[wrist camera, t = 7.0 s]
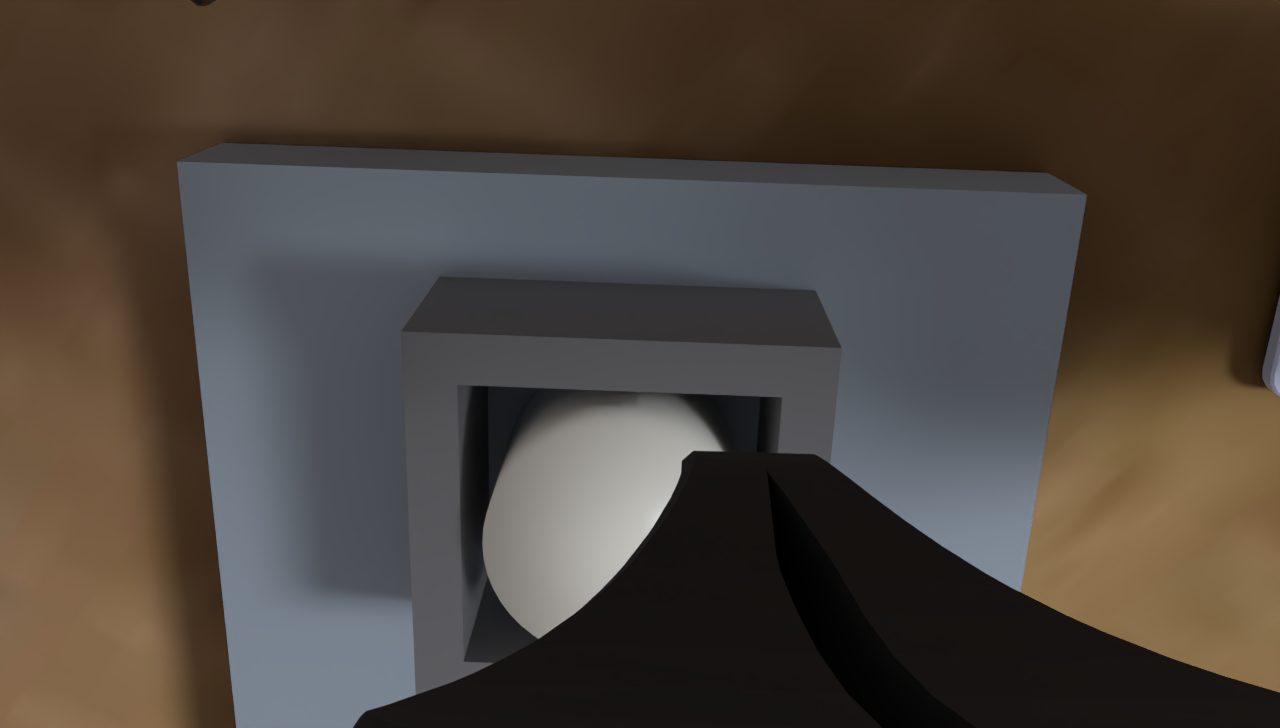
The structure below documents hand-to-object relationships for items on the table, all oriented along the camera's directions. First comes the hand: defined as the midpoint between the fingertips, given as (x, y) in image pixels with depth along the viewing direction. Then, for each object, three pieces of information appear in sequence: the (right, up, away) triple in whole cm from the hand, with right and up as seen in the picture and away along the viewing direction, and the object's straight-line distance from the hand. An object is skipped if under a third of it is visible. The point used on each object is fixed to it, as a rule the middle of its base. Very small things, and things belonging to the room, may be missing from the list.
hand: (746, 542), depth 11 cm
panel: (-1, -4, +12) cm, 13 cm away
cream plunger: (-1, 0, +8) cm, 9 cm away
